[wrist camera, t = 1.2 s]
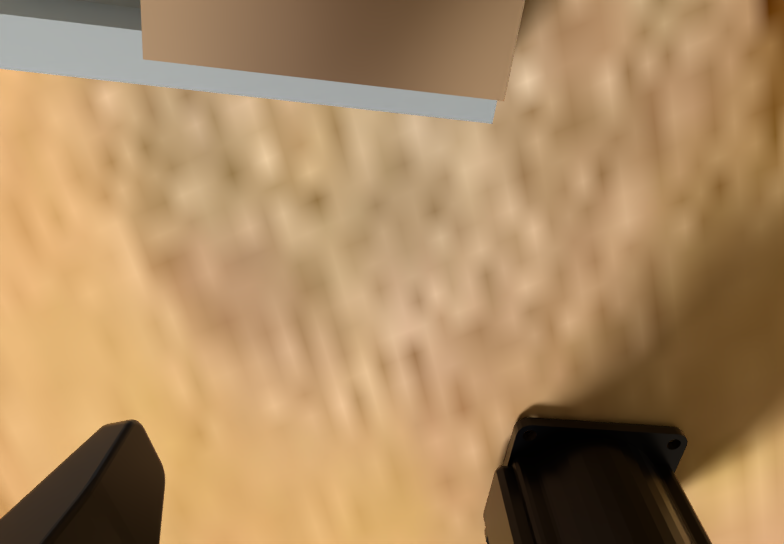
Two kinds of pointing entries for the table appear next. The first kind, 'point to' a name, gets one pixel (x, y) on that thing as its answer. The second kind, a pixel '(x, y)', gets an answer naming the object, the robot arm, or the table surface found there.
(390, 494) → the table surface
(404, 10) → the walnut block
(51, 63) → the chute
